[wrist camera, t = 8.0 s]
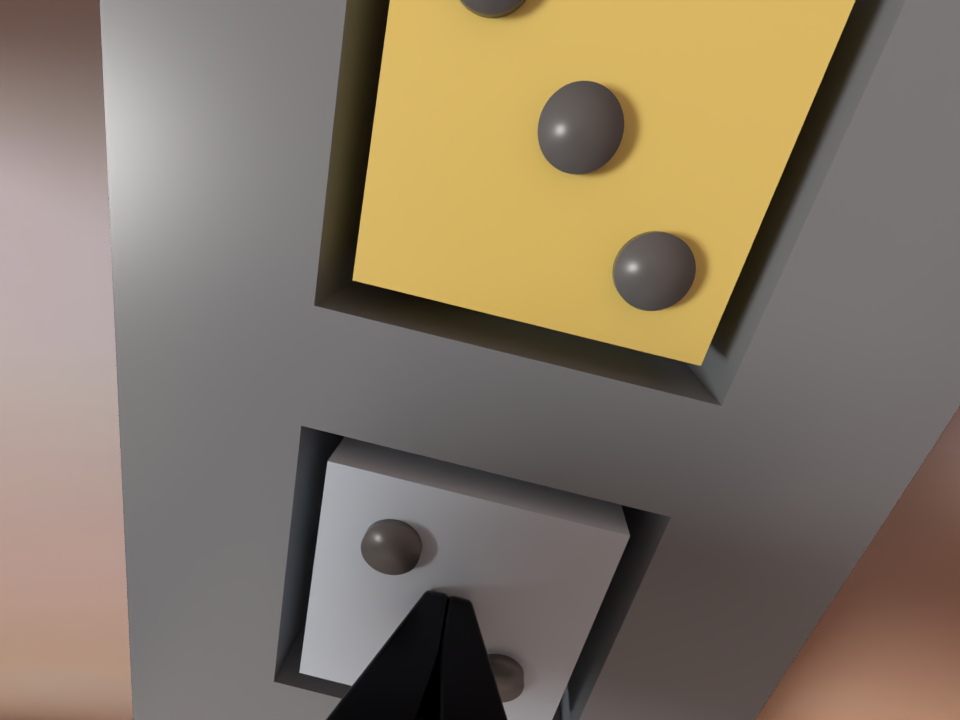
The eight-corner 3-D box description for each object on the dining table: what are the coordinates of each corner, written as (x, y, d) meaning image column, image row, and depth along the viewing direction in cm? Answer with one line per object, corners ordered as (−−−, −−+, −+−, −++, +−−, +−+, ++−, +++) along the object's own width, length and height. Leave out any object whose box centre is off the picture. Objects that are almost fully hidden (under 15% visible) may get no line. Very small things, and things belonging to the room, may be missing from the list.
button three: (656, 318, 9) (706, 371, 7) (397, 254, 9) (347, 283, 7) (773, 6, 7) (900, -84, 5) (450, -73, 7) (410, -201, 5)
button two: (542, 626, 12) (545, 745, 9) (343, 576, 12) (294, 682, 10) (606, 454, 10) (632, 544, 8) (372, 396, 10) (323, 467, 8)
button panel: (567, 829, 16) (577, 992, 13) (217, 741, 16) (140, 881, 13) (999, -32, 8) (1344, -185, 4) (265, -209, 8) (76, -487, 5)
